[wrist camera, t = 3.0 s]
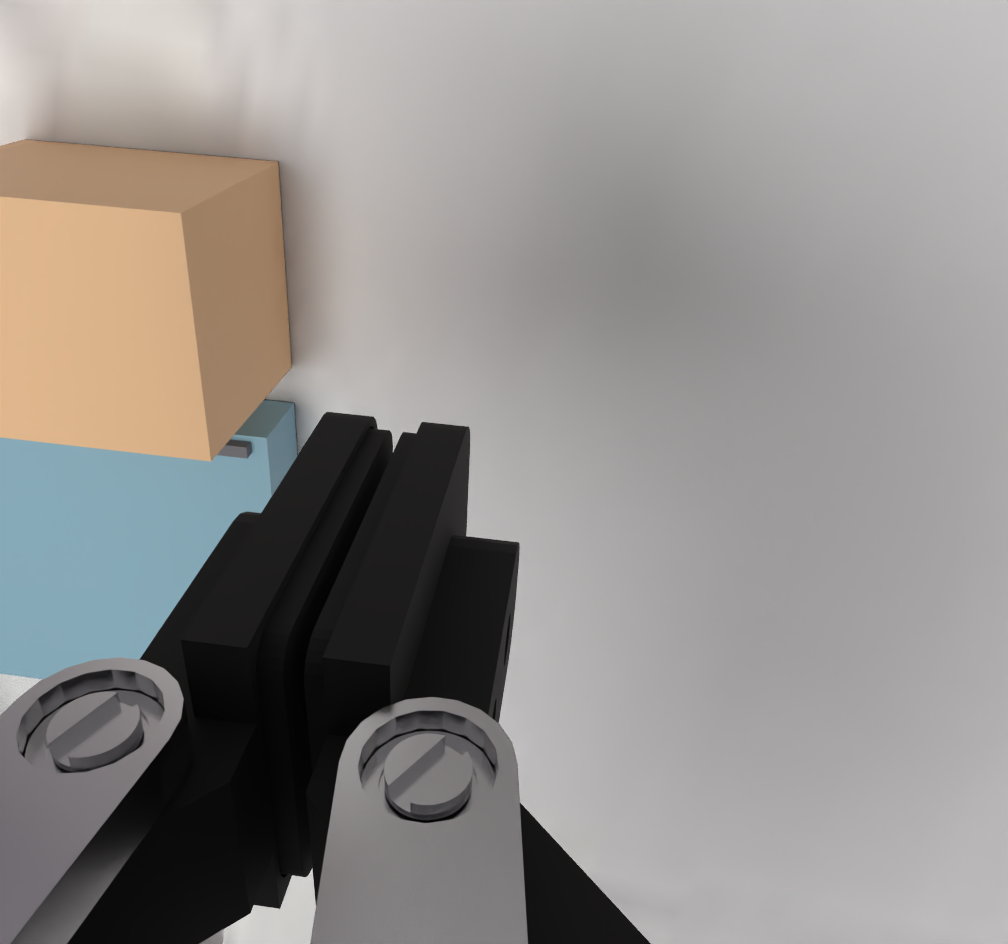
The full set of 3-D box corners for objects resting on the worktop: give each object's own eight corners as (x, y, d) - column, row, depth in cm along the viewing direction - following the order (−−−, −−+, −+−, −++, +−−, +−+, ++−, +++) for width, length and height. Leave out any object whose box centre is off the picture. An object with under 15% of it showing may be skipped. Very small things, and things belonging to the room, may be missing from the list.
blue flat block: (294, 402, 23) (262, 444, 21) (311, 665, 27) (286, 719, 25) (-210, 348, 24) (-286, 382, 22) (-113, 610, 28) (-170, 658, 26)
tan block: (278, 161, 20) (180, 213, 15) (291, 367, 22) (211, 461, 18) (24, 139, 20) (-139, 183, 16) (65, 343, 23) (-67, 429, 18)
